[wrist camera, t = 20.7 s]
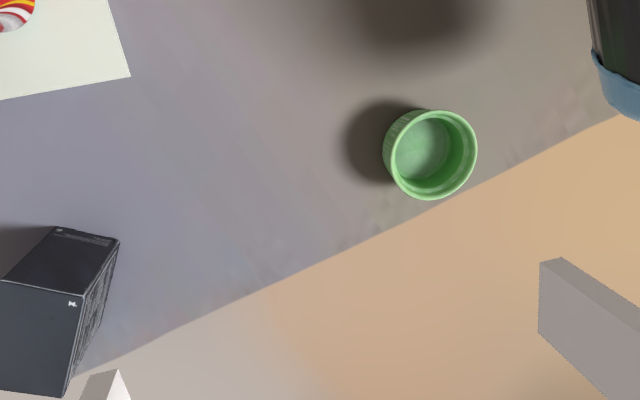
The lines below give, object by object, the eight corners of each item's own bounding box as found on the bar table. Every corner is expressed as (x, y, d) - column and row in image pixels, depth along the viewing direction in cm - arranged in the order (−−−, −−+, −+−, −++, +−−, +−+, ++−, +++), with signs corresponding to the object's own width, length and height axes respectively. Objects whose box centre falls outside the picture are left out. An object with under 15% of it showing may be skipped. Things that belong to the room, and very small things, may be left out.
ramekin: (379, 193, 47) (392, 207, 43) (373, 110, 44) (387, 117, 40) (456, 180, 48) (477, 193, 44) (457, 98, 45) (478, 103, 41)
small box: (50, 222, 42) (-6, 277, 32) (122, 238, 43) (89, 294, 34) (33, 314, 44) (-24, 390, 35) (101, 326, 46) (65, 401, 36)
